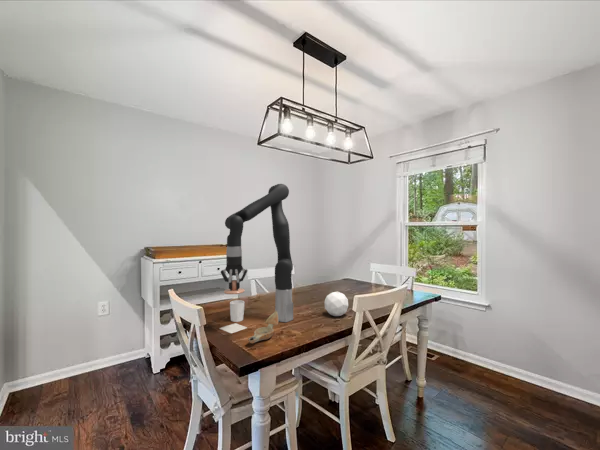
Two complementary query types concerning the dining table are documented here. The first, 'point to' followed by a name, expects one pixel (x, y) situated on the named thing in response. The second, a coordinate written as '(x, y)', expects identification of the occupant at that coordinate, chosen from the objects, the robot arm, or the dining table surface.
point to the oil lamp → (265, 329)
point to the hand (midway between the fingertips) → (234, 289)
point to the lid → (234, 289)
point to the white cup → (237, 310)
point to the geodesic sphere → (336, 303)
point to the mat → (233, 328)
